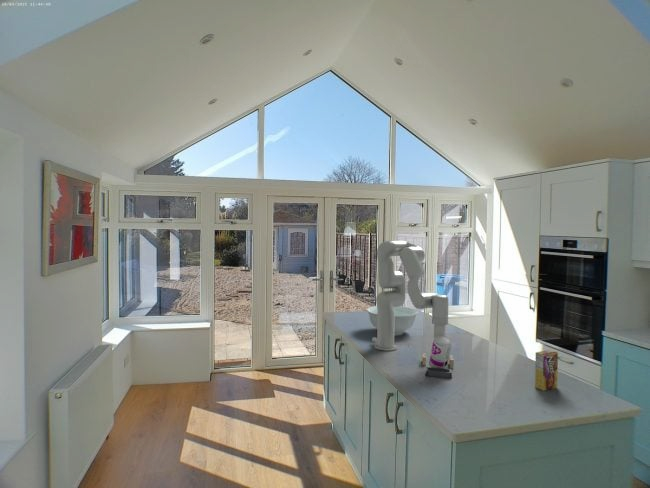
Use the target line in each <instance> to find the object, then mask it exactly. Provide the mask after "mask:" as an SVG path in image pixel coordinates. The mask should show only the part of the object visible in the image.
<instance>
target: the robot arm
mask: <svg viewBox="0 0 650 488" xmlns="http://www.w3.org/2000/svg"><path fill="white" fill-rule="evenodd" d="M425 255H426V254H425V251H424V250H423V249H422V248H421V247H420V246H418V245H415V244H413V243H411V242H409V241H406V240H385V241H383V242H381V243H380V244H379V245H378V246H377V250H376V258H377V264H378V265H377V269H378V270H377V272H378V277H377V278H378V286H379V287H380V288H382V289H385V290H383V291H381V292H378V293H377V295H376V297H375V302H376V303H375V304H376V306H377V311H378V323H377V328H376V330H377V331H376V334H377V335H376V337H372V339H371V342H373V343H374V344H373V348H374V349H377V350H379V351H385V352H387V351H388V352H391V351H395V350H397V348H398V346H397V344H395V336H394V331H395V315H394V312H393V310H392V308H394V307H400V306H401V307H403V305H404V304H405V301H406V287H407V294H408V297H409V299H410V301H411V304H412V305H413V307H414V308H416V309H417V310H426V309H431V311H432V312H431V324H432V325H433V340H434V339H435V337H436V336H439V335H442V336H446V330H447V329H446V326H448V325H449V297H448V296H447V295H445V294H438V293H434V292H423V293H422V292H421V290H420V287H419V280H420V278H422V277H423V275H425V270H424V268H423V266H422V264H421V262H423V261H424V259H425V257H426V256H425ZM392 257H399V259H400V261H401V263H402V265H403V268H404V270H405V272H406V275H407V276H408V281H407V286H406V279H405V275H404V274H403V273H402V272H401V271H399V270H394V269H395V266H394V261H393V259H392ZM386 289H391V290H386Z"/></svg>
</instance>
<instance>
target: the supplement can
mask: <svg viewBox="0 0 650 488" xmlns="http://www.w3.org/2000/svg"><path fill="white" fill-rule="evenodd" d="M451 349H452V342H451V339H450V338H449V337H448V336H446V335H445V336H442V335H439V336H436V337H435V339H434V338H433V341H432V346H431V352H430V357H429V361H428V365H429V367H432V368H443V369H448V364H449V363H448V362H449V355H450V354H451Z"/></svg>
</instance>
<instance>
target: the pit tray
mask: <svg viewBox="0 0 650 488" xmlns="http://www.w3.org/2000/svg"><path fill="white" fill-rule="evenodd" d="M425 372H426V373H425V374H426V377H433V378H443V379H452V378H453V377H452V376H453V373H452V372H453V371H452V368H446V369H443V368H432V367H431V366H426V369H425Z"/></svg>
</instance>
